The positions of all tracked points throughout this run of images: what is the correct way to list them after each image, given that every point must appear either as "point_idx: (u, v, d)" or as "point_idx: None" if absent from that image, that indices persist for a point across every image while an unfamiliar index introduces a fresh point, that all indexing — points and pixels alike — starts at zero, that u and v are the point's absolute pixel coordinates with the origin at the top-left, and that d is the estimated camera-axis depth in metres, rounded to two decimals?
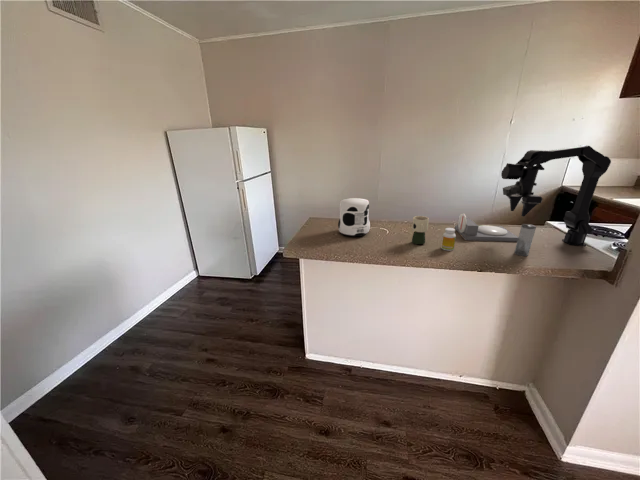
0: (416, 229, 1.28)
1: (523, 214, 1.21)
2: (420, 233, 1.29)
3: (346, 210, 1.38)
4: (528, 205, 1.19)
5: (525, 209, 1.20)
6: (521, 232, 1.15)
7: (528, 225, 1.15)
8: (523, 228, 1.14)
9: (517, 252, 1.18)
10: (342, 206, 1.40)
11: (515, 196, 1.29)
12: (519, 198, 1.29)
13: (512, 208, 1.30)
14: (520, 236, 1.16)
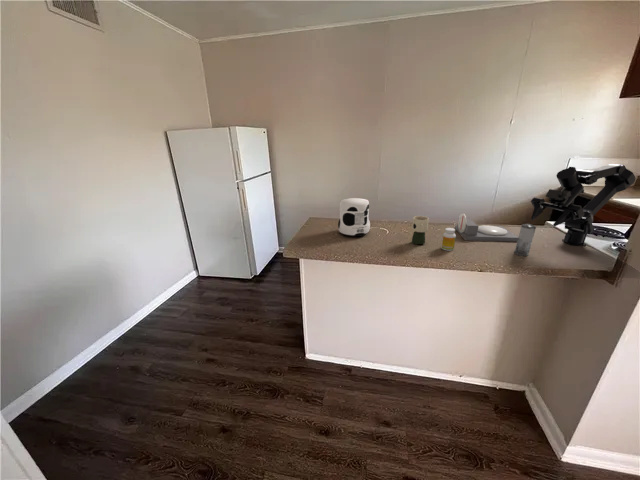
0: (416, 229, 1.28)
1: (556, 223, 1.12)
2: (420, 233, 1.29)
3: (346, 210, 1.38)
4: (566, 216, 1.11)
5: (562, 219, 1.11)
6: (521, 232, 1.15)
7: (528, 225, 1.15)
8: (523, 228, 1.14)
9: (517, 252, 1.18)
10: (342, 206, 1.40)
11: (540, 207, 1.21)
12: (541, 211, 1.22)
13: (533, 217, 1.20)
14: (520, 236, 1.16)
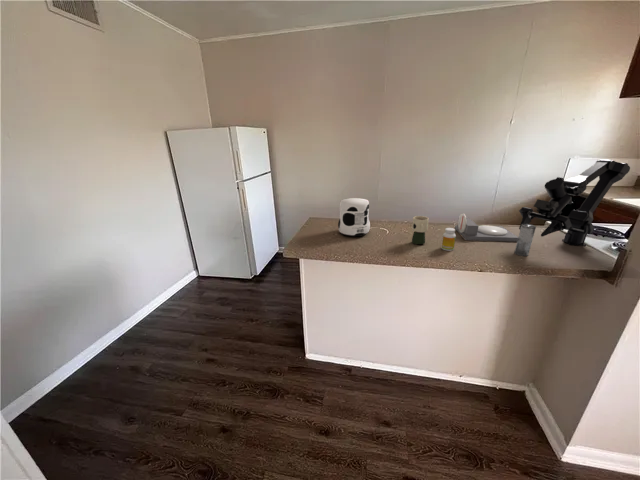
0: (416, 229, 1.28)
1: (543, 234, 1.11)
2: (420, 233, 1.29)
3: (346, 210, 1.38)
4: (553, 227, 1.11)
5: (549, 229, 1.10)
6: (521, 232, 1.15)
7: (528, 225, 1.15)
8: (523, 228, 1.14)
9: (517, 252, 1.18)
10: (342, 206, 1.40)
11: (529, 217, 1.20)
12: (529, 221, 1.21)
13: None
14: (520, 236, 1.16)
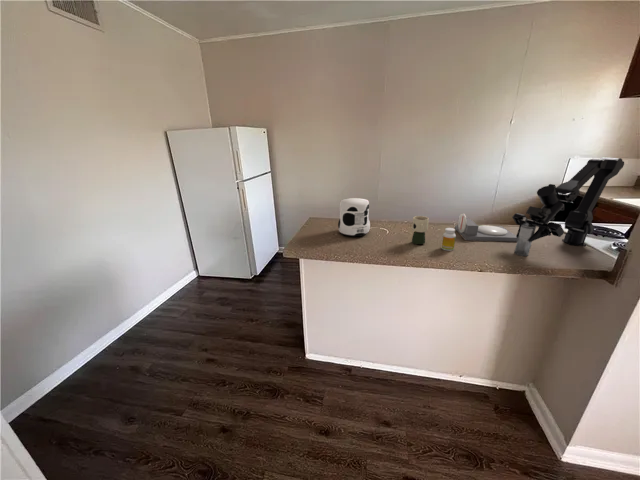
0: (416, 229, 1.28)
1: (531, 239, 1.13)
2: (420, 233, 1.29)
3: (346, 210, 1.38)
4: (541, 232, 1.12)
5: (537, 235, 1.12)
6: (521, 232, 1.15)
7: (528, 225, 1.15)
8: (523, 228, 1.14)
9: (517, 252, 1.18)
10: (342, 206, 1.40)
11: None
12: None
13: None
14: (520, 236, 1.16)
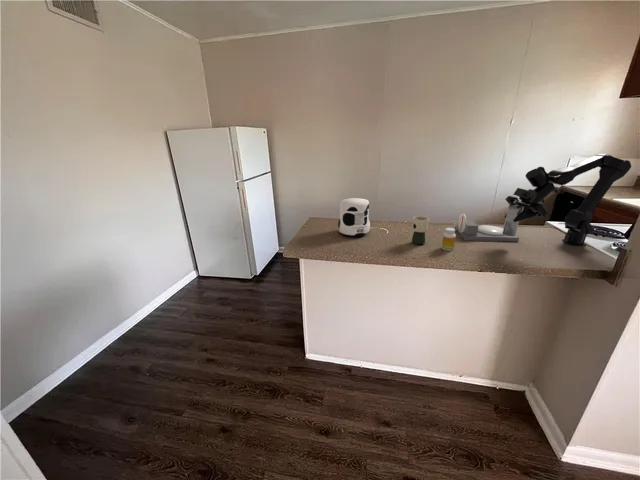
0: (416, 229, 1.28)
1: (516, 219, 1.18)
2: (420, 233, 1.29)
3: (346, 210, 1.38)
4: (526, 213, 1.17)
5: (522, 215, 1.17)
6: (507, 213, 1.21)
7: (515, 206, 1.20)
8: (509, 208, 1.20)
9: (504, 232, 1.24)
10: (342, 206, 1.40)
11: None
12: None
13: None
14: (506, 216, 1.22)
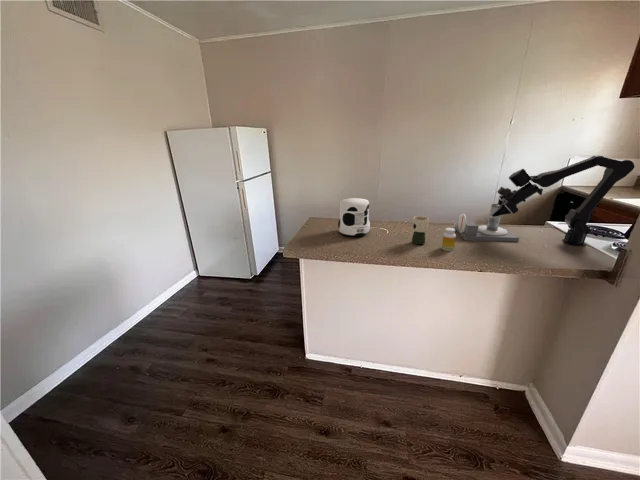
0: (416, 229, 1.28)
1: (494, 214, 1.34)
2: (420, 233, 1.29)
3: (346, 210, 1.38)
4: (503, 210, 1.31)
5: (499, 211, 1.32)
6: (490, 210, 1.38)
7: (497, 205, 1.36)
8: (491, 206, 1.37)
9: None
10: (342, 206, 1.40)
11: (503, 203, 1.38)
12: None
13: None
14: None
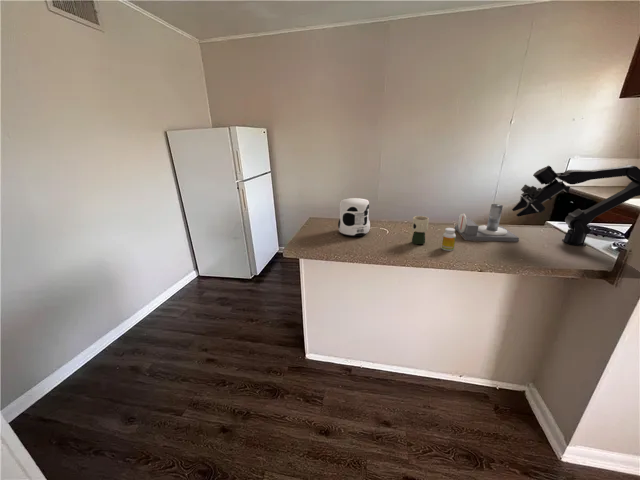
0: (416, 229, 1.28)
1: (519, 214, 1.29)
2: (420, 233, 1.29)
3: (346, 210, 1.38)
4: (529, 209, 1.26)
5: (524, 210, 1.27)
6: (490, 210, 1.38)
7: (497, 205, 1.36)
8: None
9: None
10: (342, 206, 1.40)
11: (526, 201, 1.35)
12: (527, 205, 1.35)
13: (514, 208, 1.37)
14: None
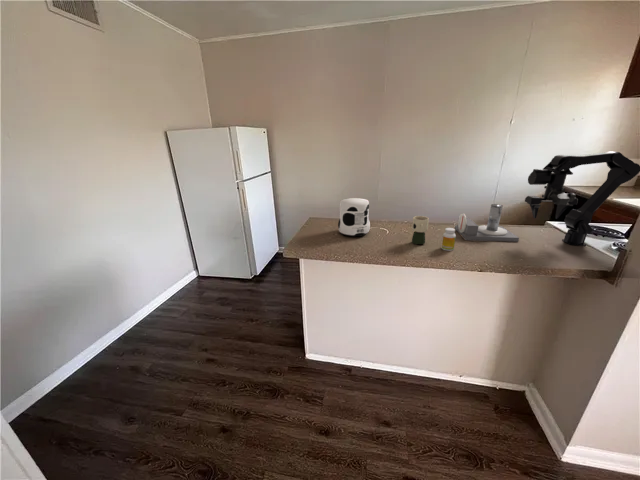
0: (416, 229, 1.28)
1: None
2: (420, 233, 1.29)
3: (346, 210, 1.38)
4: None
5: None
6: (490, 210, 1.38)
7: (497, 205, 1.36)
8: None
9: None
10: (342, 206, 1.40)
11: None
12: None
13: None
14: (489, 213, 1.39)
